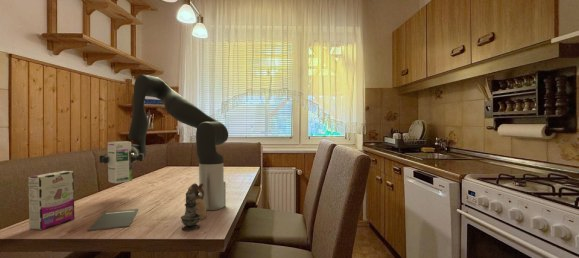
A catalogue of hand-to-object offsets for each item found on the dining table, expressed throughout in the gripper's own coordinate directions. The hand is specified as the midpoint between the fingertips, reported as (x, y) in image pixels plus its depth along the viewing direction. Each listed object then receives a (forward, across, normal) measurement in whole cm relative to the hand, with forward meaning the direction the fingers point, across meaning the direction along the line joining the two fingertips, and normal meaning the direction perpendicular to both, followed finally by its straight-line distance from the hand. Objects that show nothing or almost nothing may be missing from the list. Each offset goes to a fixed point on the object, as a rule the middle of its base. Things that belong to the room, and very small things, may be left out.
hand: (118, 159), depth 103 cm
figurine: (+13, +25, +20) cm, 35 cm away
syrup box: (-2, 0, +8) cm, 8 cm away
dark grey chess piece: (+23, +24, +20) cm, 38 cm away
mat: (+5, 0, +20) cm, 20 cm away
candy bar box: (+4, -18, +20) cm, 27 cm away
